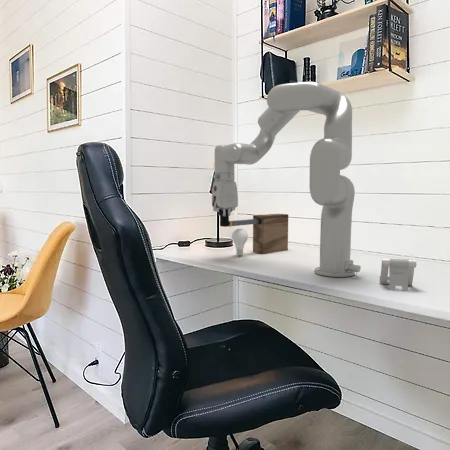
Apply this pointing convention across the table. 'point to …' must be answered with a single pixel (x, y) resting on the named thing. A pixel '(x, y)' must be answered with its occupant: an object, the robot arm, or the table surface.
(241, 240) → the lightbulb
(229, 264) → the table surface
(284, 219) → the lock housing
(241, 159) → the robot arm
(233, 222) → the bar
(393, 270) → the portable electronic device stand
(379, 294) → the table surface
